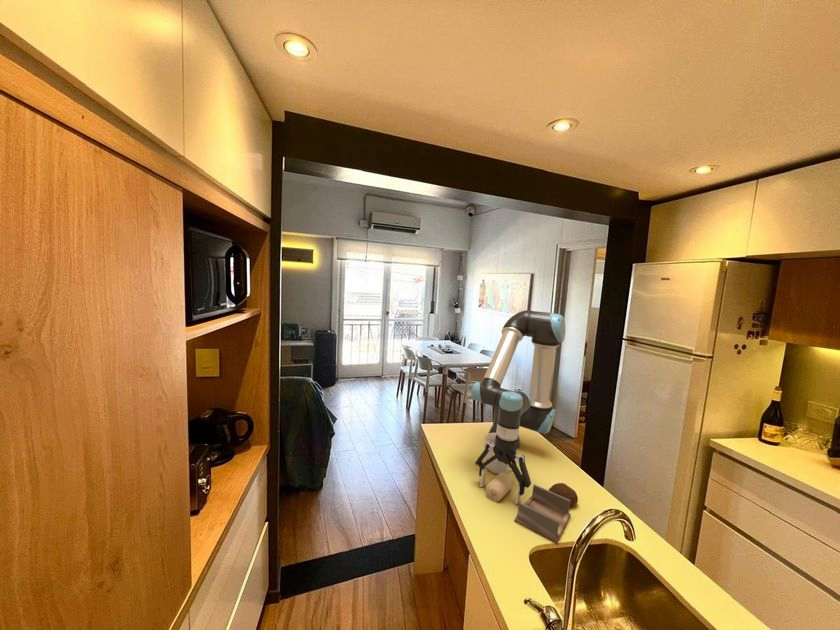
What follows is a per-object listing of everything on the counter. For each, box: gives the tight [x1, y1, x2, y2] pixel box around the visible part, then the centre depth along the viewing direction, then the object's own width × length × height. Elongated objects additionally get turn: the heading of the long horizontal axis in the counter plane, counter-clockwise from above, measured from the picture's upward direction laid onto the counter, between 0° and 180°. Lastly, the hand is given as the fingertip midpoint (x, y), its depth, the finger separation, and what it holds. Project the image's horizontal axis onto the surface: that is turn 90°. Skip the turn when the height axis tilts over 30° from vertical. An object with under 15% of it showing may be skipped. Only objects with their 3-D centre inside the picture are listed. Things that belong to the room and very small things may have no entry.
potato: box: [548, 482, 579, 507], centre depth 118 cm, size 7×10×7 cm
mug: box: [483, 432, 518, 475], centre depth 134 cm, size 15×11×13 cm
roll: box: [485, 472, 514, 502], centre depth 120 cm, size 10×6×6 cm, turn 143°
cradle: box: [514, 483, 572, 544], centre depth 108 cm, size 16×13×6 cm
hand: (499, 493), depth 120 cm, fingers open, 13 cm apart
